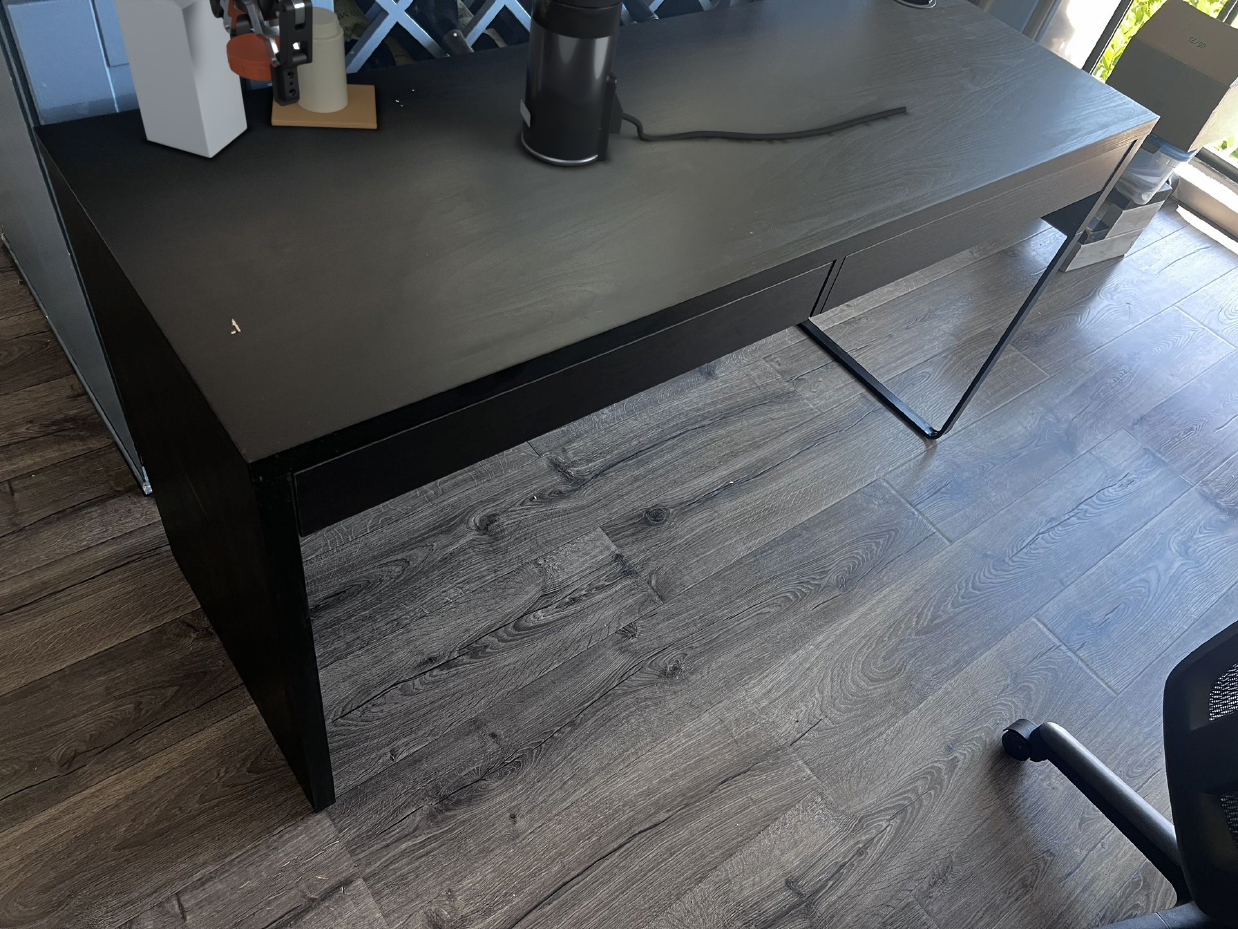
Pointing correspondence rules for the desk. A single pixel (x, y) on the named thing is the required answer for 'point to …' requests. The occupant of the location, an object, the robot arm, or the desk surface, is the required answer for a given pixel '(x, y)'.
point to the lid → (249, 57)
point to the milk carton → (182, 74)
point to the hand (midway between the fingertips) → (267, 87)
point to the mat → (352, 116)
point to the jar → (324, 66)
